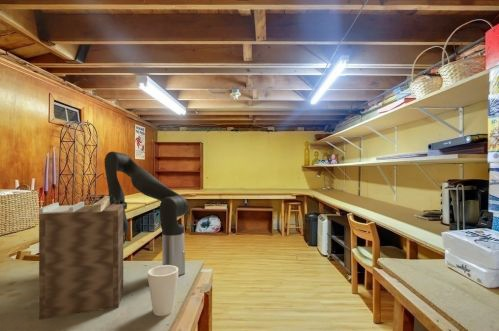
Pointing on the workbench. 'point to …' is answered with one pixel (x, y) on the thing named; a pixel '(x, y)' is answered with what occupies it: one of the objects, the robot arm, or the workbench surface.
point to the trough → (60, 208)
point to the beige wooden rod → (101, 204)
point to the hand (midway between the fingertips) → (106, 197)
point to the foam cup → (163, 288)
